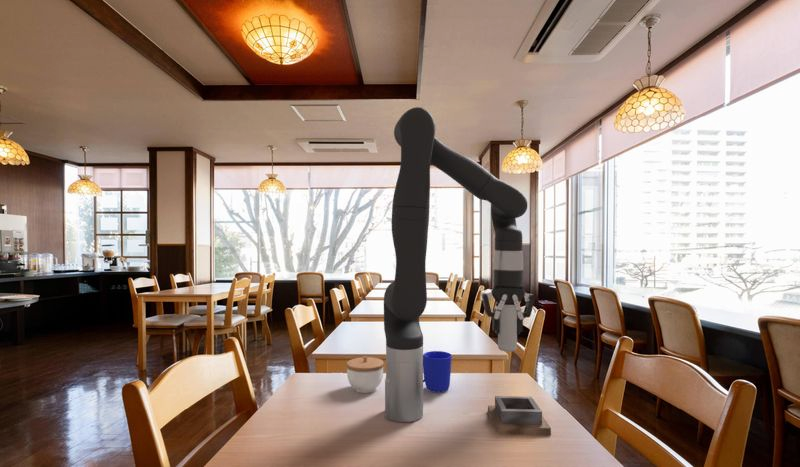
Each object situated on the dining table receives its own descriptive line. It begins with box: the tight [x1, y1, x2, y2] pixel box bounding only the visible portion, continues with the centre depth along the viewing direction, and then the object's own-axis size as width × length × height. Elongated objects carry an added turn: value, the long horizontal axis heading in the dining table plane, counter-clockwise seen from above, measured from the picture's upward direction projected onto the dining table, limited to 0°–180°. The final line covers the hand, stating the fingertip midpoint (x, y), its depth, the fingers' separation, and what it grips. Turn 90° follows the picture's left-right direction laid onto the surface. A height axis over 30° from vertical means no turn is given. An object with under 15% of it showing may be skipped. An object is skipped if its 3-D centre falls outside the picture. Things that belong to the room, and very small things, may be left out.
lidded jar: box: [346, 355, 385, 394], centre depth 122 cm, size 11×11×9 cm
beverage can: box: [497, 305, 518, 353], centre depth 110 cm, size 5×5×12 cm
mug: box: [423, 350, 453, 393], centre depth 122 cm, size 8×12×10 cm
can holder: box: [487, 395, 552, 436], centre depth 100 cm, size 12×12×4 cm
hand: (507, 332), depth 110 cm, fingers closed on beverage can, 5 cm apart
